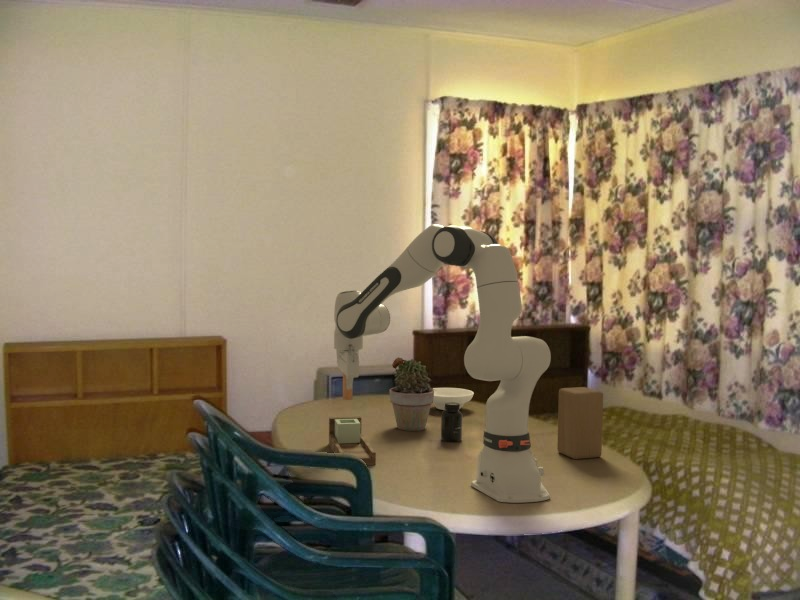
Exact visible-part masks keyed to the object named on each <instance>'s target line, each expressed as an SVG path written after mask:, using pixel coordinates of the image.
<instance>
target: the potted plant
mask: <svg viewBox="0 0 800 600" xmlns="http://www.w3.org/2000/svg"><path fill="white" fill-rule="evenodd" d="M421 363H422V361H420V360H419V361H417V360H415V359H414V358H411V359H409V360H406V359H403V357H397V358H395V359H393V362H392V363H391V364H392V368H393V369H395V371H394V373H396V374H395V375H394V377H395V379H394V380H393V381H392V382H394V383H391V384H392V385H393V384H395V386H394V387H392V388H390V389H386V390H387V391H388V390H389V391H388V392H389V401H390V403H391V404H392V409H393V412H394V418H395V422H396V426H397V429H399V430H400V431H409V432H416V431H423V430H425V429H426V427H427V423H428V418H429V416H430V415H429V414H430V411H431V406H432V404H433V399H434V390H433V388H434V387H432V386H431V384H432V383H430V382H433V383H435V381H434V380H432V379H431V378H430V377H428V375H429V376H433V375H431V374H429V373H428V372H427V371H426V368H427V366H426V365H422V364H421ZM397 368H398V369H397ZM432 385H433V384H432ZM435 391H436V390H435Z"/></svg>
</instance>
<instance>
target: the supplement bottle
mask: <svg viewBox="0 0 800 600" xmlns="http://www.w3.org/2000/svg"><path fill="white" fill-rule="evenodd" d="M440 417H441V420H440V421H441V422H440V423H441V425H440V438H441V440H442V441H444V442H449V443H457V442H460V441H462V440H463V439H462V438H463V436H462V435H463V413H462V412H461V411H460V404H459V403H455V402H448V403H445V410H443V411H442V412H441V416H440Z"/></svg>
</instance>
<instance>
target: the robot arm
mask: <svg viewBox="0 0 800 600" xmlns="http://www.w3.org/2000/svg"><path fill="white" fill-rule="evenodd" d="M443 265H448V266H455V267H459V268H462V269H471V270H472V271H473V274H474V277H475V282H476V289H477V290H476V292H477V299H478V307H479V311H478V312H479V323H478V327H477V332H476V334H475V337H474V339H473V340H472V341H471V342H470V344H469V345H468V346H467V348H466V350H465V353H464V357H463V362H464V367H465V370H466V372H467V374H468V375H469V376H470V377H471V378H473V379H475V380H480V381H486V382H494V381H495V382H496V381H500V383H499V385H498V387H497V389H496V390H495V391H494V393H492V394H491V395H490V396H489V398H487V401H486V403H485V429H484V430H483V436H482V437H483V441H482V443H483V445H484V446H483V448H482V449H481V451H480V452H479V453H478V456H477V462H476V463H477V464H476V475H475V476H476V479H474V480H471V482H470V486H471V487H472V488H474V489H476V490H478V491H479V492H481V493H482V494H485V495H487V496H488V497H490V498H491V499H493V500H495V501H497V502H502V503H515V504H516V503H534V502H543V501H546V500H549V499H550V498H551V495H550V493H549V491H548V490H547V489H546V487H545V486H544V484H543V482H542V481H541V479H542V478H541V477H543V476H544V474H545V473H544V472H545V470H544V467H543V466H538V459H537V458H535V456H534V454H533V452H532V450H531V447H532V446H531V445H532V444H531V437H530V436H531V435H530V432H529V411H530V403H531V399H532V395H533V392H534V389H535V388H536V385H537V382H538V381H539V380H540V378H541V376H542V375H543V374H544V373H545V372H546V371H547V370H548V368H549V367H550V364H551V358H552V357H551V356H552V355H551V350H550V347H549V346H548V344H547V342H546V341H544V340H543V339H541V338H537V337H534V336H528V335H527V336H526V335H524V336H523V335H521V336H512V328H513V324H514V322H515V321H516V320H517V319H518V318H519V317H520V316H521V315H522V312H523V304H522V297H521V289H520V285H519V284H520V283H519V279H518V272H517V269H516V265H515V262H514V259H513V256H512V253H511V251H510V249H509V248H507V247H506V246H505V245H502V244H498V241H497V240H496V238H495V237H494V236H493V235H492V234H490V233H488V232H486V231H483V230H479V229H478V230H477V229H476V228H473V227H470V226H458V225H456V224H455V225H446V226H443V225H441V224H436V223H434V224H431V225H429V226H428V227H426V228H425V229H424V230H422V231H421V232H420V233H419V234H418V235H417V236H416V237H415V238H414V239H413V240H412V241H411V242H410V243H409V245H408V246H407V247H406V248H405V249H404V250H403V251H402V252H401V254H400V255H399V256H398V257H397V258H396V259H395V260H394V261H393V262H392V263H391V264H390V265H389V266H387V268H385V269H384V270H383V271H382V272H380V274H379V275H377V277H376V278H375V279H373V280H372V282H370V284H369V285H368V286H367V287H366V288H364V289H363V291H360V290H347V291H342V292H339V293H338V294H337V296H336V298H335V300H334V301H335V303H334V316H333V318H334V323H335V328H334V331H333V334H334V335H333V349H334V350H335V351H336V361H337V368H338V369H339V370H340V371H341V372H342V374H343V373H344V374H345V375H346V388H347V389H352V383H353V382H354V378H359V376H360V358H359V357H360V356H359V353H360V351H359V350H363V347H364V345H363V344H364V336H365V337H366V336H371V335H373V336H374V335H378V334H381V333H383V332H385V331H387V329H388V328H389V326H390V323H391V313H390V311H389V309H388V307H387V306H386V305H384V304H383V303H384V302H385V301H387V299H388V298H390V297H392V296H393V295H395V294H397V293H400V292H403V291H407V290H410V289H415V288H418V287H420V286H423V285H424V284H426V283H427V282H428V281H430V280H431V279H432V278H434V276H435V274H436V273H438V271H439V270H440V268H441V267H443ZM353 384H354V383H353Z"/></svg>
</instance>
